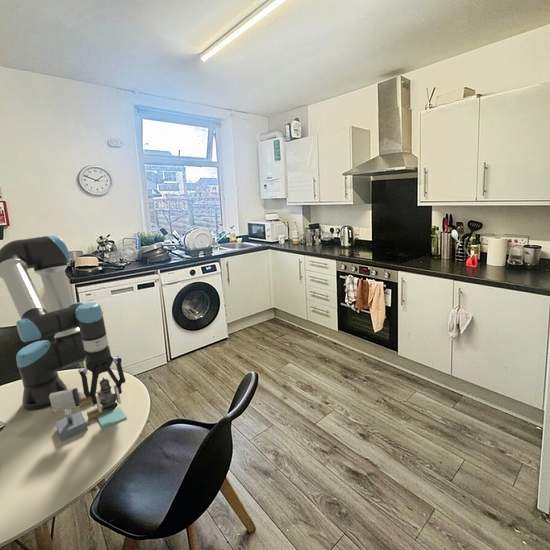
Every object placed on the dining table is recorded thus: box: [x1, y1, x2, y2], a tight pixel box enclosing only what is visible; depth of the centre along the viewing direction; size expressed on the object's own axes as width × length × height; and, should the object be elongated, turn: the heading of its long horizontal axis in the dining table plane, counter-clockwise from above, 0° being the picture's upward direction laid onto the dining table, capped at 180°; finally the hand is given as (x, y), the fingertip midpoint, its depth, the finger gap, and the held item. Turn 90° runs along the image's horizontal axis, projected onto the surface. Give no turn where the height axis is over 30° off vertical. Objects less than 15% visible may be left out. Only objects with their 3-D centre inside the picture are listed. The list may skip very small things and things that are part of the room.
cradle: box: [80, 390, 114, 421], centre depth 130 cm, size 12×9×3 cm
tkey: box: [49, 387, 81, 422], centre depth 116 cm, size 8×2×11 cm, turn 107°
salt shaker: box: [99, 377, 119, 412], centre depth 120 cm, size 6×6×12 cm
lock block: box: [55, 411, 89, 442], centre depth 118 cm, size 8×8×3 cm
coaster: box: [96, 406, 128, 430], centre depth 123 cm, size 8×8×1 cm
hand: (109, 406), depth 122 cm, fingers closed on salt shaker, 6 cm apart
